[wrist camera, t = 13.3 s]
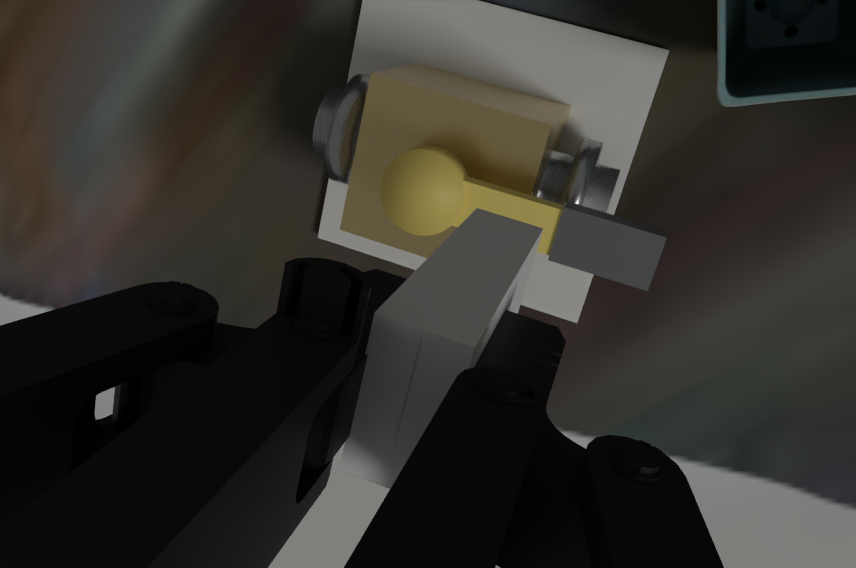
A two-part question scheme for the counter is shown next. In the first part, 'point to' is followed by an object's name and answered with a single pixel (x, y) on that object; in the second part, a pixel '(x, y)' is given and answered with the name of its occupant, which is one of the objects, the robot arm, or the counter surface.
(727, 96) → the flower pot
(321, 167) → the counter surface
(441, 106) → the valve
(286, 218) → the counter surface
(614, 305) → the counter surface
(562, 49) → the mat
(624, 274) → the lever
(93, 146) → the counter surface
